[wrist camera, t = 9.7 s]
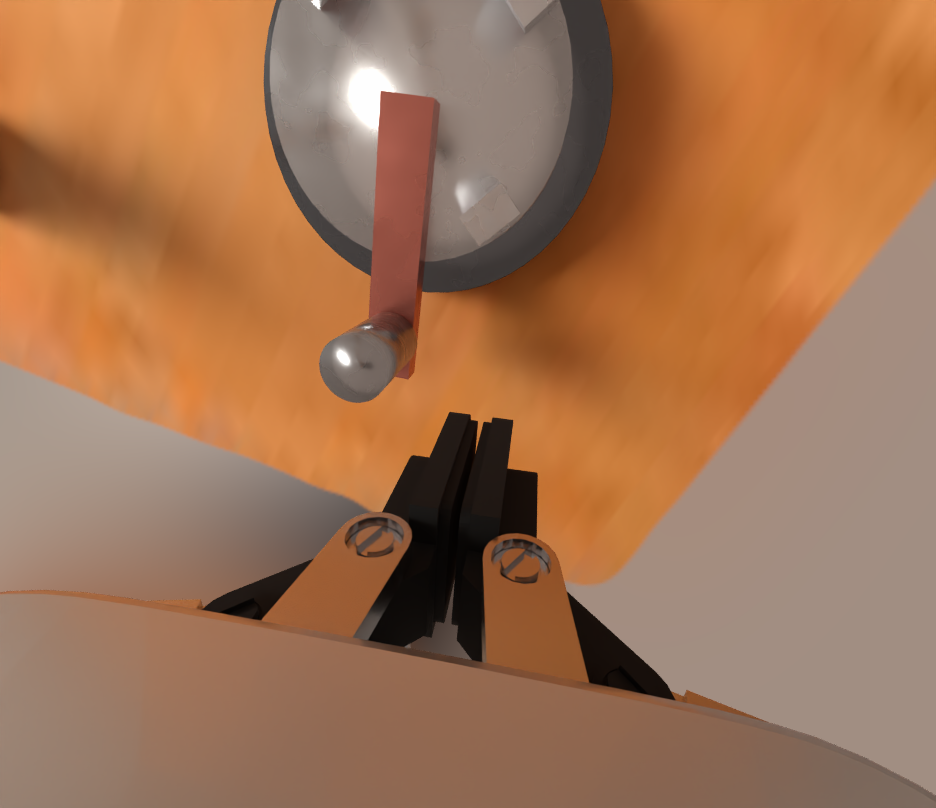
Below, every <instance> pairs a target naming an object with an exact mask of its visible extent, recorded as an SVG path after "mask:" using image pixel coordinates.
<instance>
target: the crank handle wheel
mask: <svg viewBox="0 0 936 808" xmlns="http://www.w3.org/2000/svg"><path fill="white" fill-rule="evenodd" d="M572 84H573V66H572V54H571V44H570V39H569V34H568V28H567V23H566V19H565V16H564V13H563V9H562V6H561V3H560V0H282V1H281V4H280V6H279V9H278V13H277V18H276V22H275V26H274V31H273V37H272V45H271V53H270V90H271V102H272V108H273V113H274V119H275V124H276V128H277V132H278V135H279V138H280V142H281V145H282V148H283V151H284V153H285V156H286V158H287V160H288V163H289V165H290V168H291V170H292V171H293V173H294V175H295V177H296V179H297V181H298V183H299V184H300V186H301V188H302V189H303V191H304V192H305V193H306V195H307V196H308V198H309V199H310V201H311V202H312V203H313V205H314V206H315V207H316V208H317V209H318V210H319V212H320V213H321V214H322V215H323V216H324V217H325V218H326V219H327V220H328V221H329V222H330V223H331V224H332V225H333V226H334V227H335V228H336V229H338V230H339V231H340V232H342V233H343V234H344V235H346V236H347V237H348V238H350V239H351V240H353V241H354V242H356V243H358V244H360V245H361V246H363V247H365V248H367V249H369V250H371V251H372V266H371V286H370V306H369V319H367V320H365V321H364V322H362V323H360V324H359V325H357V326H355V327H354V328H352V329H350V330H349V331H347V332H345V333H343V334H342V335H340V336H338V337H337V338H335V339H333V340H332V341H330V342H329V343H328V344H327V345H326V346H325V348H324V349H323V351H322V353H321V356H320V363H319V365H320V373H321V376H322V378H323V380H324V382H325V384H326V385H327V387H328V388H329V389H330V390H331V391H332V392H333V393H334V394H335V395H337V396H338V397H340V398H342V399H344V400H346V401H350V402H355V403H361V402H366V401H369V400H372V399H373V398H375V397H376V396H377V395H379V393H380V392H381V391H382V390H383V389H384V388H385V387H386V386H387V385H388V384H389V383H390V382H391V380H392V379H393V378H394V377H399V378H404V379H409V378H410V377H411V375H412V374H413V373H414V369H415V358H416V348H417V338H418V328H419V317H420V307H421V297H422V287H423V276H424V266H425V262H426V261H440V260H445V259H451V258H455V257H458V256H461V255H464V254H467V253H470V252H472V251H474V250H476V249H478V248H480V247H482V246H484V245H486V244H488V243H490V242H492V241H494V240H495V239H497V238H498V237H500V236H501V235H503V234H504V233H506V232H507V231H508V230H509V229H510V228H512V227H513V226H514V225H515V224H516V223H517V222H518V221H520V220H521V219H522V217H523V216H524V215H525V214H526V213H527V212H528V211H529V209H530V208H531V207H532V206H533V205H534V203H535V202H536V200H537V199H538V197H539V196H540V194H541V193H542V191H543V190H544V188H545V186H546V184H547V182H548V181H549V179H550V177H551V175H552V173H553V171H554V168H555V166H556V163H557V160H558V158H559V155H560V153H561V149H562V145H563V141H564V137H565V133H566V130H567V126H568V122H569V115H570V108H571V101H572Z"/></svg>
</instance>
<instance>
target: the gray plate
mask: <svg viewBox="0 0 936 808" xmlns="http://www.w3.org/2000/svg"><path fill="white" fill-rule="evenodd" d="M281 1H282V0H276V3H275V7H274V11H273V15H272V18H271V22H270V26H269V31H268V38H267V45H266V51H265V64H264V94H265V110H266V116H267V122H268V128H269V134H270V138H271V141H272V145H273V149H274V152H275V156H276V160H277V162H278V165H279V167H280V170H281V172H282V175H283V178H284V180H285V183H286V184H287V186H288V188H289V190H290V192H291V194H292V196H293V198H294V200H295V202H296V204H297V205H298V207H299V208H300V210H301V211H302V213H303V214H304V216H305V218H306V219H307V221H308V222H309V223H310V224H311V226H312V227H313V228H314V229H315V231H316V232H317V233H318V234H319V235H320V237H321V238H322V239H323V240H324V241H325V242H326V243H327V244H328V245H329V246H330V247H331V248H332V249H333V250H334V251H335V252H336V253H337V254H339V255H340V256H341V257H343V258H344V259H345V260H347V261H348V262H349V263H350V264H352V265H353V266H355V267H356V268H358V269H360V270H361V271H363V272H365V273H366V274H368V275H370V276H371V266H372V251H371V250H369V249H367V248H365V247H363V246H361V245H360V244H358V243H356V242H354V241H353V240H351V239H350V238H348V237H347V236H346V235H344V234H343V233H342V232H340V231H339V230H338V229H336V228H335V227H334V226H333V225H332V224H331V223H330V222H329V221H328V220H327V219H326V218H325V217H324V216H323V215H322V214H321V213H320V212H319V210H318V209H317V208H316V207H315V206H314V205H313V203H312V202H311V201H310V199H309V198H308V196H307V195H306V193H305V192H304V191H303V189H302V188H301V186H300V184H299V183H298V181H297V179H296V177H295V175H294V173H293V171H292V170H291V168H290V165H289V163H288V160H287V158H286V156H285V153H284V151H283V148H282V145H281V142H280V138H279V135H278V132H277V128H276V124H275V119H274V113H273V108H272V102H271V90H270V53H271V45H272V37H273V31H274V26H275V22H276V18H277V13H278V9H279V6H280V4H281ZM560 3H561V6H562V9H563V13H564V16H565V19H566V23H567V28H568V34H569V39H570V44H571V54H572V66H573V84H572V101H571V108H570V115H569V122H568V126H567V130H566V133H565V137H564V141H563V145H562V149H561V153H560V155H559V158H558V160H557V163H556V166H555V168H554V171H553V173H552V175H551V177H550V179H549V181H548V182H547V184H546V186H545V188H544V190H543V191H542V193H541V194H540V196H539V197H538V199H537V200H536V202H535V203H534V205H533V206H532V207H531V208H530V209H529V211H528V212H527V213H526V214H525V215H524V216H523V217H522V219H521V220H520V221H518V222H517V223H516V224H515V225H514V226H513V227H512V228H510V229H509V230H508V231H507V232H506V233H504V234H503V235H501V236H500V237H498V238H497V239H495V240H494V241H492V242H490V243H488V244H486V245H484V246H482V247H480V248H478V249H476V250H474V251H472V252H470V253H467V254H464V255H461V256H458V257H455V258H451V259H445V260H440V261H426V262H425V266H424V276H423V287H422V291H423V292H453V291H461V290H468V289H471V288H475V287H479V286H482V285H486V284H488V283H491V282H493V281H495V280H498V279H500V278H502V277H505V276H507V275H508V274H510V273H512V272H513V271H515V270H517V269H518V268H520V267H522V266H523V265H525V264H526V263H527V262H529V261H530V260H531V259H532V258H534V257H535V256H536V255H538V254H539V253H540V252H541V251H542V250H543V249H544V248H545V247H546V246H547V245H548V244H549V243H550V242H551V241H552V240H553V239H554V238H555V237H556V236H557V235H558V234H559V233H560V231H561V230H562V229H563V227H564V226H565V225H566V224H567V222H568V221H569V220H570V218H571V217H572V216H573V214H574V212H575V211H576V209H577V207H578V206H579V204H580V202H581V201H582V199H583V197H584V196H585V194H586V192H587V190H588V187H589V185H590V183H591V181H592V179H593V176H594V174H595V172H596V169H597V166H598V163H599V160H600V157H601V154H602V151H603V148H604V145H605V140H606V135H607V130H608V125H609V121H610V114H611V103H612V92H613V75H612V54H611V47H610V40H609V33H608V27H607V23H606V19H605V16H604V12H603V8H602V4H601V1H600V0H560Z"/></svg>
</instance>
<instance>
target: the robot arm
mask: <svg viewBox="0 0 936 808" xmlns="http://www.w3.org/2000/svg"><path fill="white" fill-rule="evenodd" d="M512 427H513V420H508V419H500V418H493V419H492V423H489V422H484V423H483V427H482V431H481V435H480V438H479V442H478V446H477V450H476V439H477V428H478V421H474V420H471V415H469V414H462V413H454V412H450V413H449V414H448V417H447V419H446V421H445V424H444V426H443V428H442V430H441V433H440V435H439V437H438V439H437V442H436V444H435V446H434V449H433V451H432V453H431V455H430V458H429V457H422V456H415V455H413V456H411V457H410V459H409V461H408V463H407V465H406V467H405V469H404V471H403V473H402V474H401V476H400V478H399V480H398V482H397V484H396V486H395V488H394V490H393V492H392V494H391V496H390V498H389V500H388V502H387V504H386V506H385V508H384V509H383V511H382V512H373V513H366V514H363V515H359V516H357V517H355V518H353V519H351V520H349V521H348V522H347V523H346V524H344V525H343V526H342V527H341V528H340V529H339V531H338V532H337V533H336V534H335V535H334V536H333V538H332V539H331V540H330V541H329V542H328V543H327V545H326V546H325V547H324V548H323V549H322V550H321V552H320V553H319V554H318V555H317V556H316V557H315V558H314V559H312V560H309V561H307V562H304V563H302V564H299V565H297V566H294V567H292V568H289V569H287V570H284V571H282V572H279V573H277V574H274V575H272V576H269V577H267V578H264V579H262V580H259V581H257V582H254V583H252V584H249V585H247V586H244V587H242V588H239V589H237V590H234V591H232V592H229V593H227V594H225V595H223V596H221V597H219V598H217V599H215V600H213V601H212V602H211V603H209V604H208V605H207V606H203V605H202V601H201V599H200V600H198V599H197V600H159V601H145V600H139V599H133V598H126V597H119V596H111V595H103V594H95V593H88V592H76V591H56V590H29V591H28V590H27V591H6V592H0V808H936V795H934V794H932V793H931V792H929V791H927V790H926V789H924V788H923V787H921V786H919V785H918V784H916V783H914V782H912V781H910V780H908V779H906V778H904V777H902V776H900V775H898V774H896V773H894V772H892V771H890V770H888V769H887V768H885V767H883V766H881V765H879V764H877V763H875V762H873V761H871V760H869V759H867V758H865V757H863V756H860V755H858V754H855V753H853V752H851V751H848V750H846V749H843V748H841V747H838V746H836V745H833V744H831V743H829V742H826V741H824V740H822V739H819V738H817V737H814V736H811V735H808V734H804V733H801V732H798V731H795V730H792V729H789V728H786V727H783V726H779V725H776V724H773V723H769V722H766V721H764V720H761V719H759V718H756V717H754V716H751V715H749V714H746V713H744V712H741V711H738V710H736V709H733V708H731V707H728V706H726V705H723V704H721V703H718V702H716V701H713V700H711V699H708V698H706V697H703V696H700V695H698V694H695V693H693V692H690V691H688V690H686V693H685V695H684V696H681V695H679V694H676V693H674V692H671V691H670V689H669V688H668V685H667V684H666V683H665V682H664V681H663V680H662V678H661V677H660V676H659V675H658V674H657V673H656V672H655V671H654V670H653V669H652V668H651V667H650V666H649V665H648V664H646V663H645V662H644V661H643V660H642V659H641V658H640V657H639V656H638V655H636V654H635V653H634V652H633V651H632V650H631V649H630V648H629V647H628V646H626V645H625V644H624V643H623V642H622V641H621V640H620V639H619V638H618V637H617V636H615V635H614V634H613V633H612V632H611V631H610V630H609V629H607V627H606V626H604V625H603V624H602V623H601V622H600V621H599V620H598V619H597V618H596V617H595V616H593V615H592V614H591V613H590V612H589V611H588V610H587V609H586V608H585V607H583V606H582V605H581V604H580V603H579V602H578V601H577V600H576V599H575V598H574V597H572V596H571V595H570V594H569V593H568V592H567V591H566V587H565V583H564V579H563V575H562V571H561V567H560V563H559V560H558V558H557V556H556V553H555V552H554V551H553V550H552V549H551V548H550V547H549V545H547V544H546V543H544V542H543V541H541V540H540V539H537V481H538V475H537V473H535V472H528V471H521V470H514V469H507V467H508V459H509V451H510V443H511V435H512ZM475 451H476V454H475ZM454 580H455V584H454ZM453 584H454V597H453V610H452V624H453V625H458V633H457V641H458V642H459V643H460V645H461V646H462V647H463V649H464V650H465V651H466V653H467V654H468V655H469V657H470V658H471V659H472V660H468V659H463V658H457V657H453V656H447V655H442V654H436V653H431V652H426V651H420V650H415V649H410V643H412V642H414V641H415V640H417V639H419V638H421V637H422V636H426V637H432V634H433V630H434V626H435V622H442V623H444V622H445V618H446V614H447V610H448V605H449V601H450V597H451V592H452V588H453Z"/></svg>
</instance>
